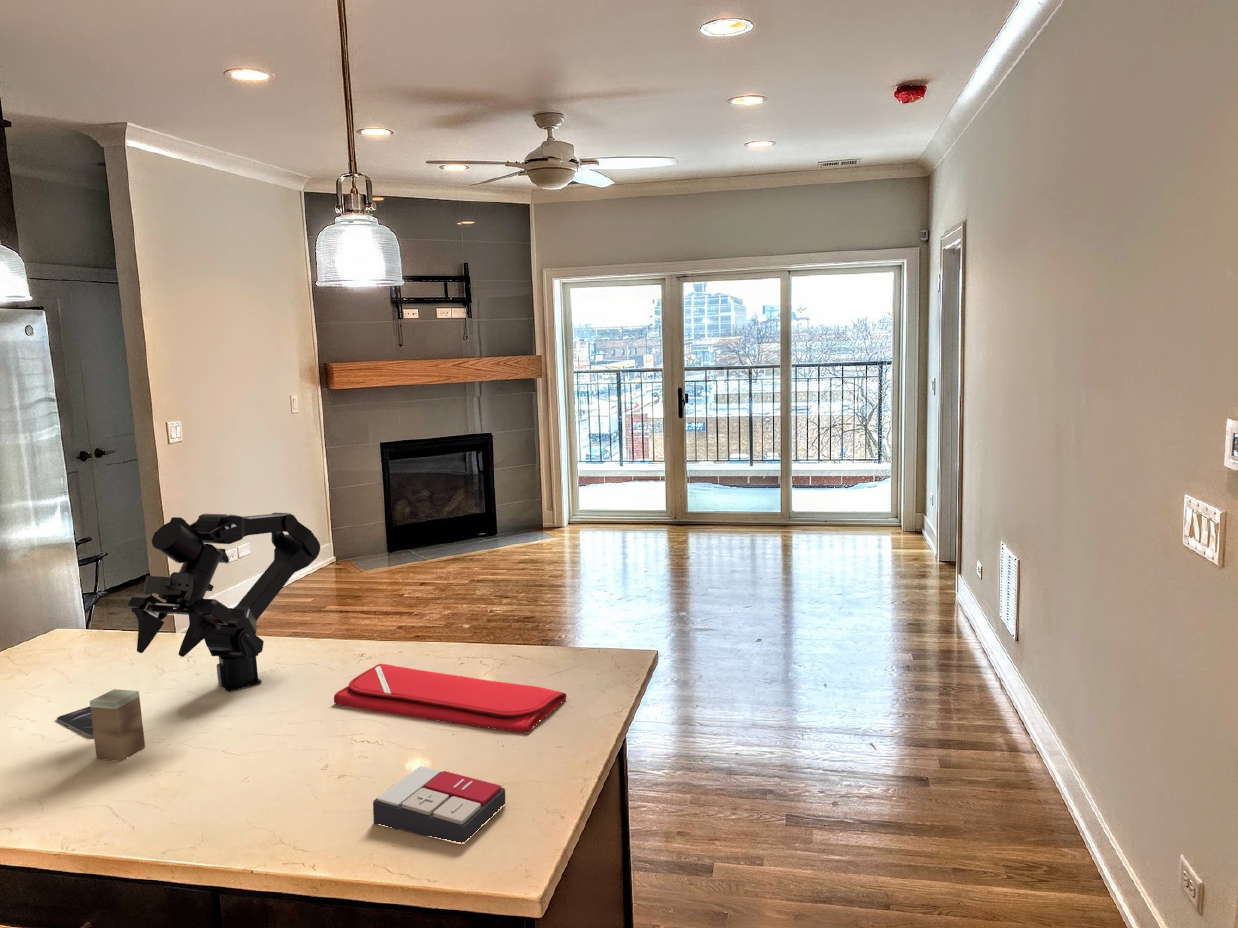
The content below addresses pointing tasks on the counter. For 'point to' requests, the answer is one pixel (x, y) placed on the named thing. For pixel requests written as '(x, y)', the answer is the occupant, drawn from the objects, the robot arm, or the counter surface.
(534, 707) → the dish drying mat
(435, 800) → the calculator
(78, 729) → the smartphone
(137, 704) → the walnut block
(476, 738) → the counter surface
